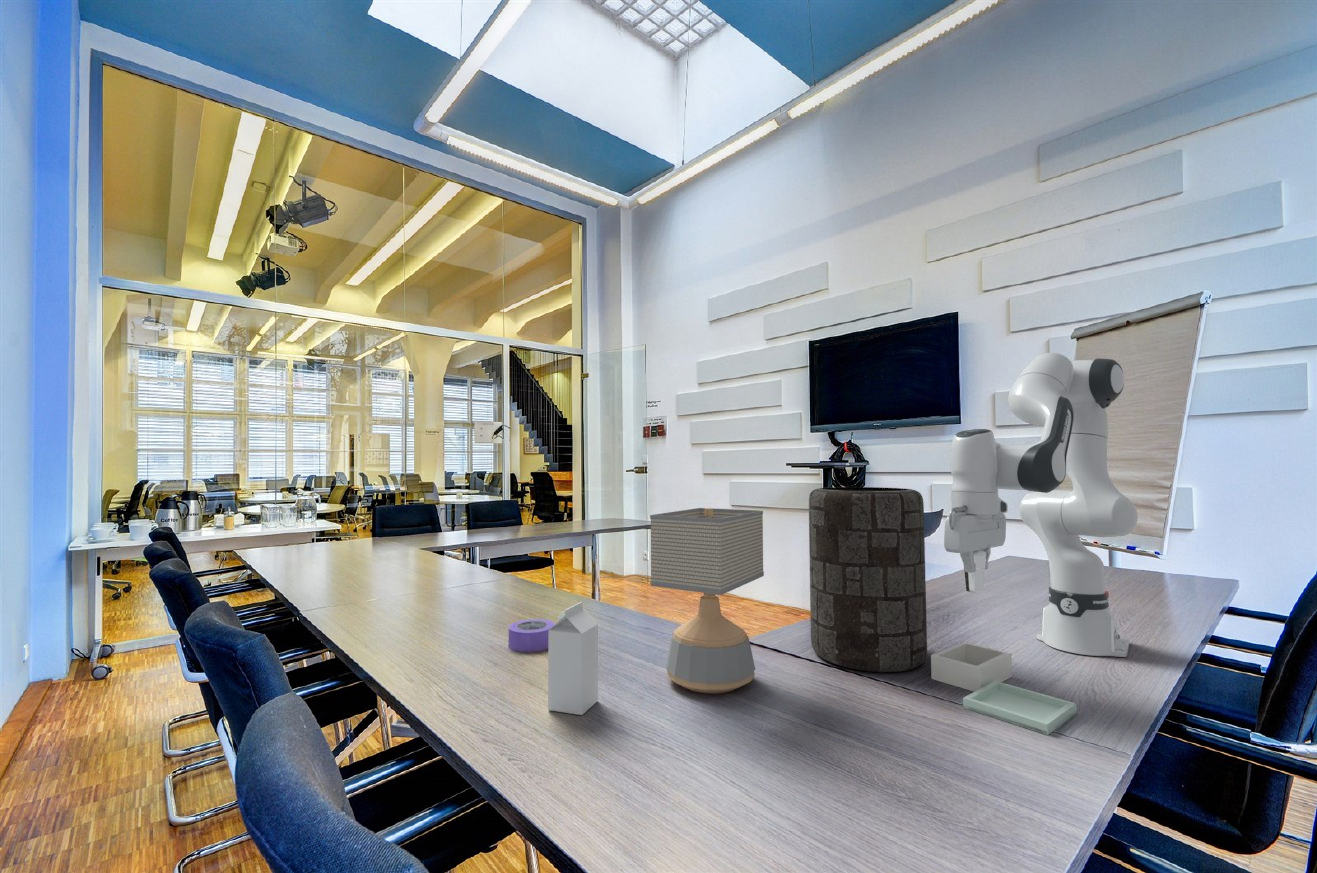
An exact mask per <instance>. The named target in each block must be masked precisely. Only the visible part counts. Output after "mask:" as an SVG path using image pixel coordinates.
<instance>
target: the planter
mask: <svg viewBox="0 0 1317 873" xmlns="http://www.w3.org/2000/svg"><path fill="white" fill-rule="evenodd" d="M808 497H809V498H808V535H809V536H808V537H809V539H808V541H809V543H808V544H809V595H810V596H809V602H810V603H809V604H810V605H809V607H810V612H809V614H810V642H811V647H812V649H813V651H814V652H815V654H817V656H819V657H820V658H821V659H822V660H825V661H827V662H829V663H831V664H834V665H836V666H840V667H844V668H847V669H852V670H855V671H856V670H857V671H862V672H872V673H874V672H875V673H897V672H904V671H910V670H914V669H915V668H918V667H920V666H921V665H922V664H923V663H925V661H926V659H927V655H928V654H927V653H928V631H927V629H928V628H927V627H928V626H927V589H926V588H927V586H926V583H927V582H926V550H925V549H926V545H925V543H926V542H925V539H926V538H925V509H924V508H925V507H924V506H925V505H924V498H923V495H922V494H921V492H920V491H918V490H915V489H911V488H903V487H902V488H899V487H877V486H876V487H873V486H855V487H854V486H852V487H851V486H845V487H843V486H841V487H840V486H837V487H834V486H833V487H820V488H816V489H815V488H814V489H813V490H812V491H811V492H810V493H809V495H808Z"/></svg>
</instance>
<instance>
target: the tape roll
mask: <svg viewBox="0 0 1317 873" xmlns="http://www.w3.org/2000/svg"><path fill="white" fill-rule="evenodd" d="M555 624H556V623H555V622H554V621H552V620H548V619H543V618H542V619H540V618H538V619H537V618H533V619H532V618H531V619H530V618H529V619H524V620H523V619H522V620H519V621H514V622H512V623H511V624H509V626H508V643H507V644H508V648H509V649H510V650H512V651H516V652H521V653H522V652H524V653H527V652H529V653H530V652H539V651H544V650H548V635H549V629H551V628H552V627H553V626H554V625H555Z"/></svg>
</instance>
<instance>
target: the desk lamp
mask: <svg viewBox="0 0 1317 873" xmlns="http://www.w3.org/2000/svg"><path fill="white" fill-rule="evenodd" d="M763 514H764V510H759V509H758V510H754V509H735V508H733V509H731V508H713V507H712V508H711V507H698V508H690V509H683V510H675V511H667V512H662V513H656V514H650V515H649V519H650V582H649V583H650V587H658V588H663V589H664V588H665V589H672V590H678V591H688V592H695V593H700V594H701V593H702V594H703V595H702V596H700V597H699V598H700V599H699V604H698V611H697V615H695V616H693V617H692V618H690V619H689V620H688V621H686V622H684V623H683V624H681V625H679V626H678V627H676V628H675V629H674V630H673V633H672V634H671V636H670V642H669V646H668V652H667V657H666V662H665V666H666V676H667V677H668V678H669V679H670V680H672V681H673V682H674V683H675V684H677V685H678V686H681V687H683V688H685V689H687V690H690V691H692V692H696V693H701V694H724V693H728V692H732V691H735V690H737V689H738V688H741V687H743V686H745V685H747V684H749V683H750V682H752V680H754V677H755V672H756V671H755V670H756V666H755V661H754V657H753V656H754V655H753V652H752V646H751V642H750V638H749V635H748V634H747V633H746V631H745V629H744V628H742V627H740V626H739V625H738V624H736V623H734V622H732V621H731V620H730V619H728V618H726V617H725V616H724V615H722V609H721V605H720V603H721V602H720V598H719V596H722V595H724V594H727V593H729V592H732V591H733V590H736V589H737V588H741V587H742V586H745V585H747V584H750V583H751V582H754V581H755V580H758V579H760V578H762V577H764V575H765V574H764V573H765V572H764V532H763V531H764V528H763V526H764V524H763V522H764V519H763V517H764V516H763ZM717 595H718V596H717Z"/></svg>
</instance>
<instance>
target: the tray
mask: <svg viewBox="0 0 1317 873" xmlns="http://www.w3.org/2000/svg"><path fill="white" fill-rule="evenodd" d="M1077 707H1078V706H1077V702H1072V701H1070V700H1065V699H1062V698H1058V697H1055V696H1052V695H1047V694H1045V693H1041V692H1038V691H1033V690H1029V689H1026V688H1023V687H1019V686H1016V685H1012V684H1008V683H1005V682H998V681H994V682H992V683H990V684H988V685H987V686H985V687H983V688H981V689H979V690H977V691H975V692H973V691H972V693H970V694H967V695H966V696H964V697H962V708H963V709H967V710H969V711H972V712H975V713H978V714H981V715H985V716H987V717H990V718H994V719H997V720H999V721H1002V722H1006V723H1009V724H1013V725H1015V726H1018V727H1021V728H1024V729H1027V730H1030V731H1033V732H1036V733H1039V734H1043V735H1046V736H1049V735H1050V734H1052V733H1053V732H1054V731H1055V730H1057V729H1058V728H1059V727H1060V726H1062V725H1063V724H1065V723H1066V722H1068V721H1069V720H1071V718H1072V717H1074V716H1076V714H1078V710H1077Z"/></svg>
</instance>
